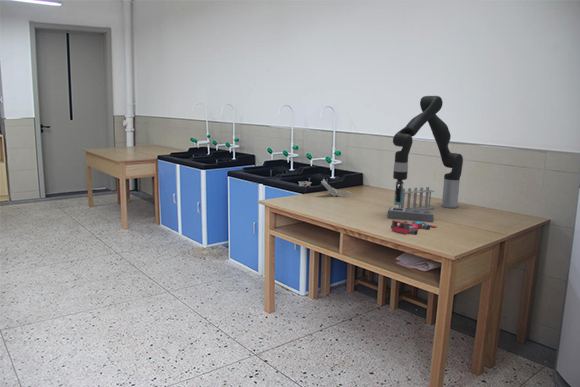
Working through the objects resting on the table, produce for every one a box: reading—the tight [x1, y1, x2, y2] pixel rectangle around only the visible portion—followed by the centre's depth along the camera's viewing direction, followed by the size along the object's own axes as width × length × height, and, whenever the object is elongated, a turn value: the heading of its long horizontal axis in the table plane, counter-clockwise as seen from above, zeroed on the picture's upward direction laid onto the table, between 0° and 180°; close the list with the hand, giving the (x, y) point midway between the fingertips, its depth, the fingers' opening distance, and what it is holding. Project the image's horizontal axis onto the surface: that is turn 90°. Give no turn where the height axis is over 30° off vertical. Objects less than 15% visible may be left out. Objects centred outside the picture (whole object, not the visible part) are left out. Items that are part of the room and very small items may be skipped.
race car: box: [390, 219, 437, 235], centre depth 243 cm, size 14×6×25 cm
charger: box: [393, 189, 403, 207], centre depth 267 cm, size 4×4×8 cm
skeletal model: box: [320, 178, 356, 197], centre depth 325 cm, size 16×9×25 cm
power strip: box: [386, 206, 435, 223], centre depth 266 cm, size 10×24×4 cm, turn 71°
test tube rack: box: [398, 186, 435, 210], centre depth 288 cm, size 25×4×13 cm, turn 114°
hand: (398, 200), depth 267 cm, fingers closed on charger, 4 cm apart
